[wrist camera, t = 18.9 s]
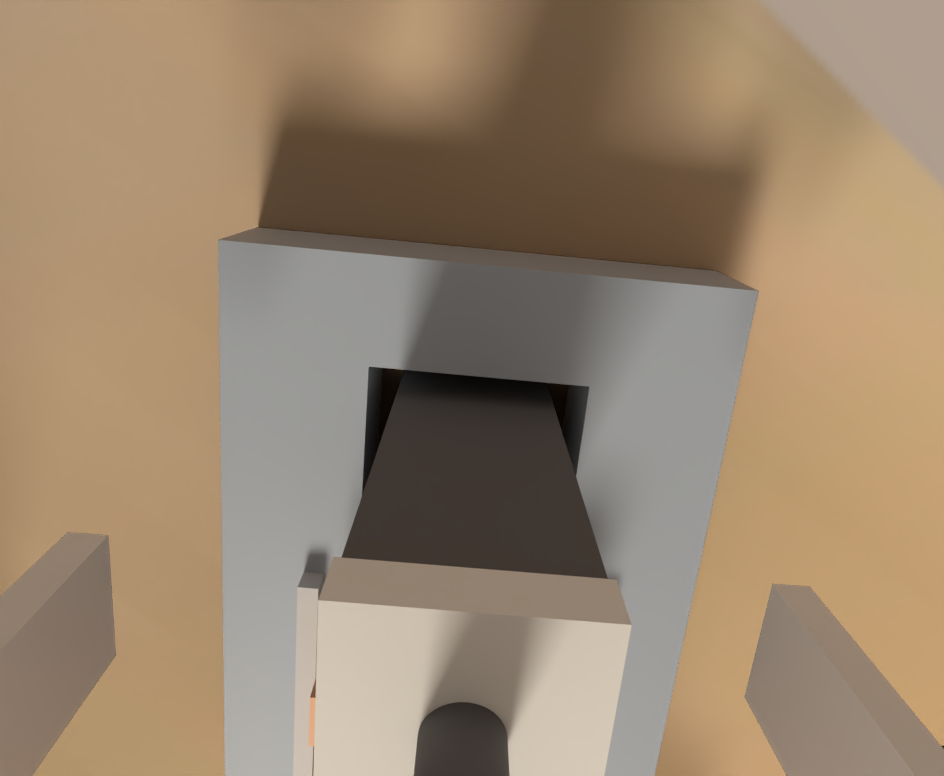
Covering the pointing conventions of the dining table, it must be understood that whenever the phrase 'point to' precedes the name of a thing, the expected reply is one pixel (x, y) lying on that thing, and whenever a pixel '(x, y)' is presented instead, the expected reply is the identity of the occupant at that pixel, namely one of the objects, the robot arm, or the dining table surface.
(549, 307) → the socket plate
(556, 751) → the plug
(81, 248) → the dining table surface
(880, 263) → the dining table surface
